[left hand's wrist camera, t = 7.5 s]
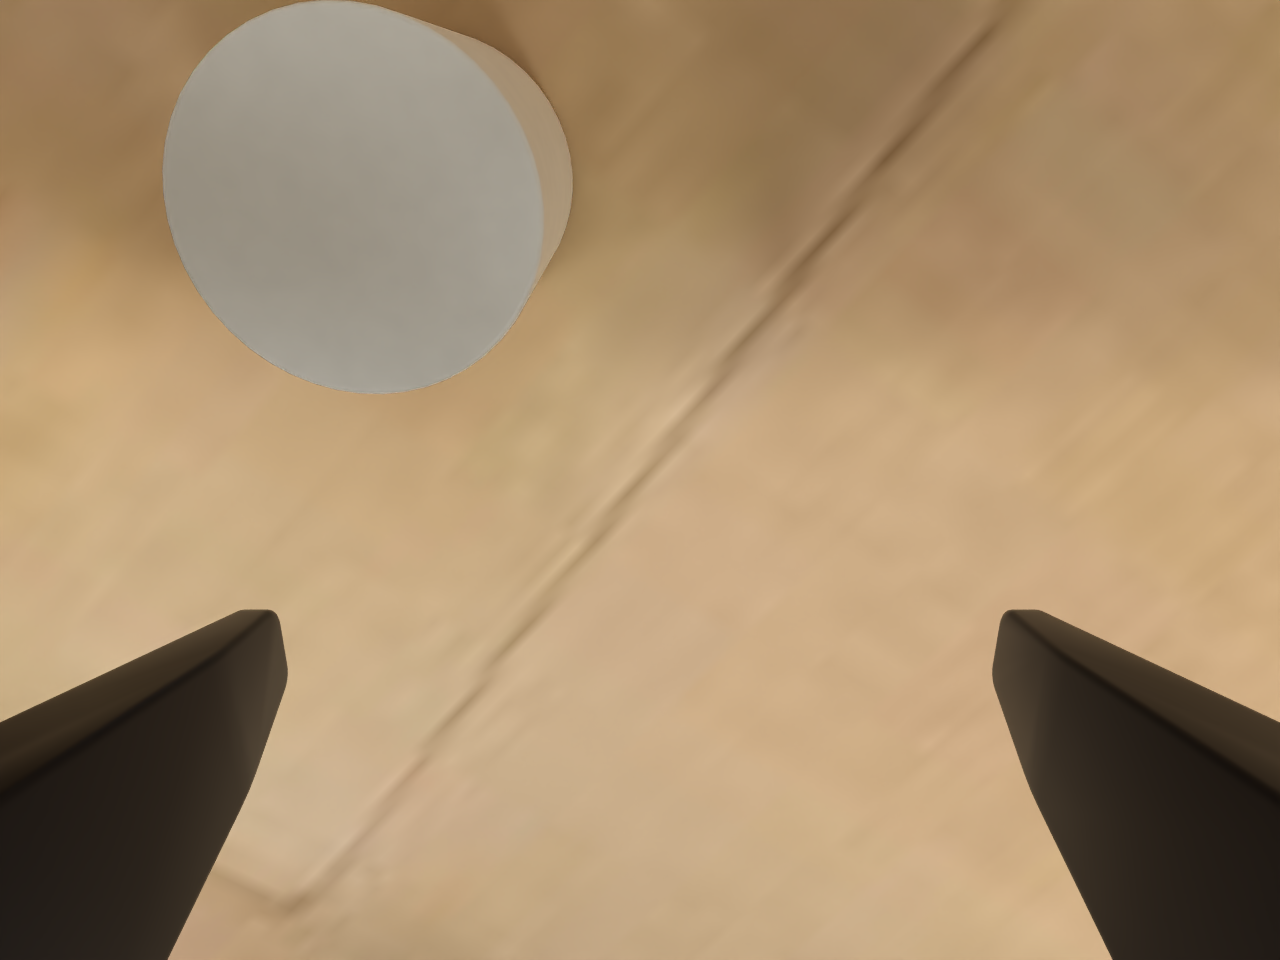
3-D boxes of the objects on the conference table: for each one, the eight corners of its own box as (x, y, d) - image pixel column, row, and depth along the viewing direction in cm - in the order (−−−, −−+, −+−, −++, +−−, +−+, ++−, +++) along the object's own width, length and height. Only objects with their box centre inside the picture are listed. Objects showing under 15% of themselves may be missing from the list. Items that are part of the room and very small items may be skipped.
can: (628, 172, 15) (622, 203, 11) (459, 364, 16) (391, 463, 12) (413, -39, 14) (307, -102, 9) (249, 186, 15) (87, 223, 11)
